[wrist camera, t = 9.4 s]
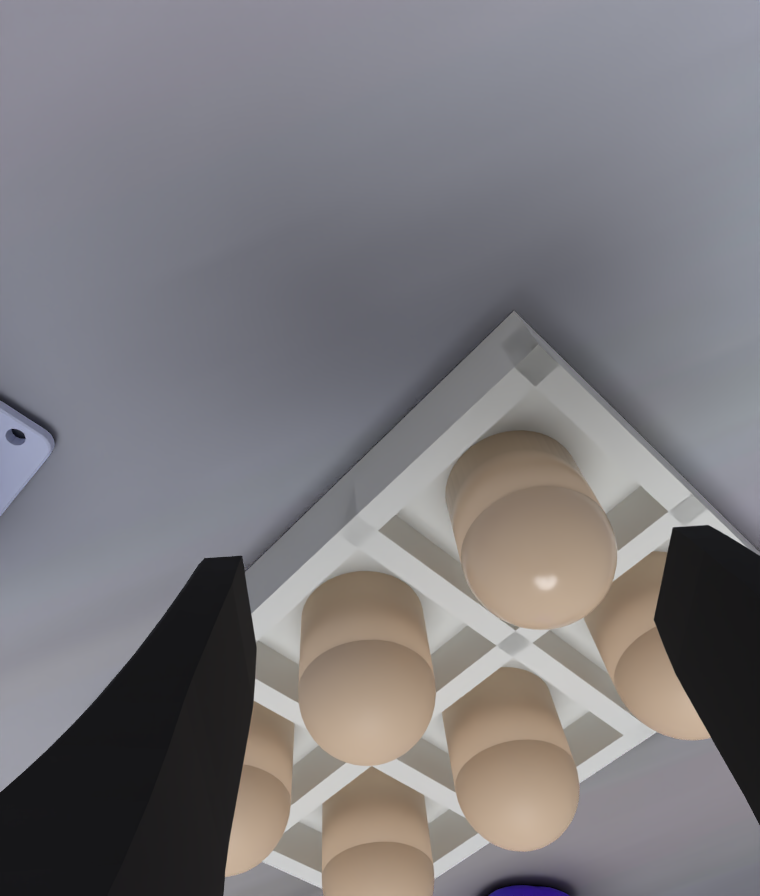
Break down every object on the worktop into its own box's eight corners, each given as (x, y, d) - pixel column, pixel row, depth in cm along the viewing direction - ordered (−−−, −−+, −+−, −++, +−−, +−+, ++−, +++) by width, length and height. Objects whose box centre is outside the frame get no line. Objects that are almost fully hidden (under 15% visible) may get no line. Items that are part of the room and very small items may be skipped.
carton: (98, 714, 26) (40, 881, 21) (514, 310, 19) (582, 404, 14) (376, 852, 31) (386, 1013, 26) (777, 569, 25) (898, 708, 19)
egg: (417, 496, 21) (438, 611, 17) (515, 404, 20) (566, 503, 15) (508, 564, 22) (550, 687, 18) (605, 482, 21) (675, 593, 17)
